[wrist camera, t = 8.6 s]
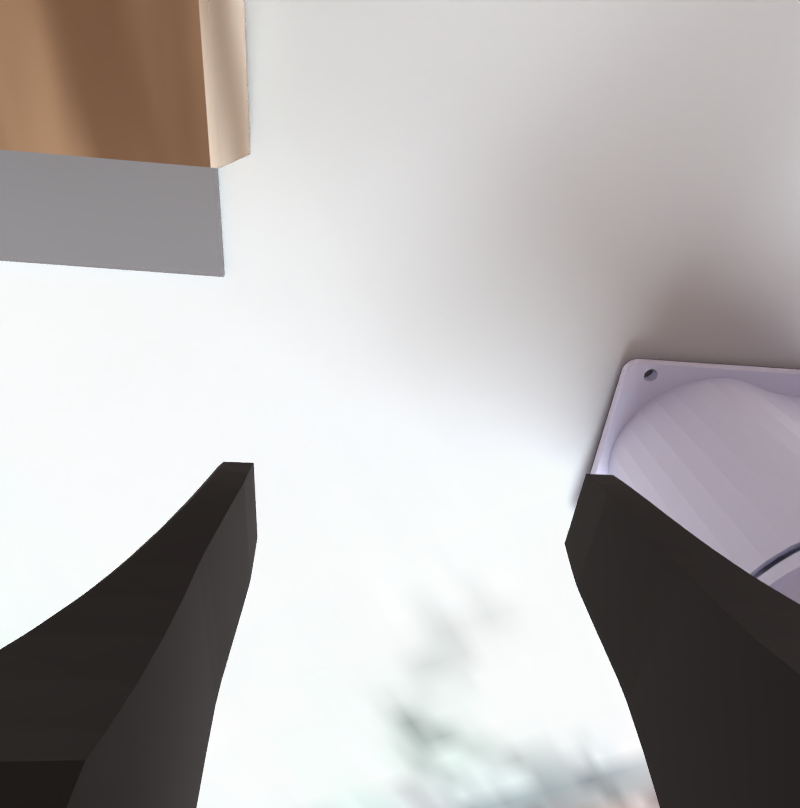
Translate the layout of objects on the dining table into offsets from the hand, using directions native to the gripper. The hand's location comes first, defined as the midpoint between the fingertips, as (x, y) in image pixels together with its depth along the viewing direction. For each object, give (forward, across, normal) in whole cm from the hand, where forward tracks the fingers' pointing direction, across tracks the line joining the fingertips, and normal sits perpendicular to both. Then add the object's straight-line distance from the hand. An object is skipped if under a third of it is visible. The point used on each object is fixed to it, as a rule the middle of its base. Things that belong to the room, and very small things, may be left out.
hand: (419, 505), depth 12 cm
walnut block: (+8, +5, -8) cm, 12 cm away
